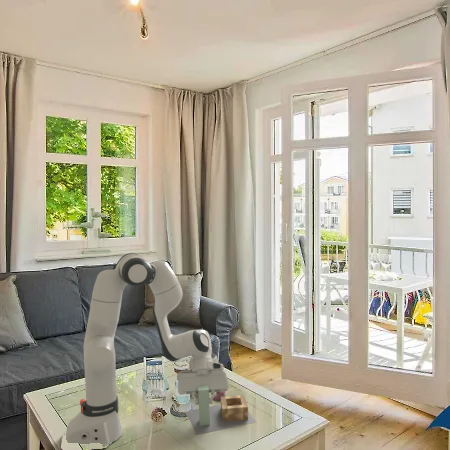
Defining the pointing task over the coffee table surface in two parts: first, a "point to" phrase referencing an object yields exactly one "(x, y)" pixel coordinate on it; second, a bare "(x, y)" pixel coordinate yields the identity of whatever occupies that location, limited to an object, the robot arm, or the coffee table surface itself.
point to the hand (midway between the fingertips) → (204, 403)
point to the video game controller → (219, 395)
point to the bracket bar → (204, 405)
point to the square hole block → (234, 408)
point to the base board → (215, 421)
